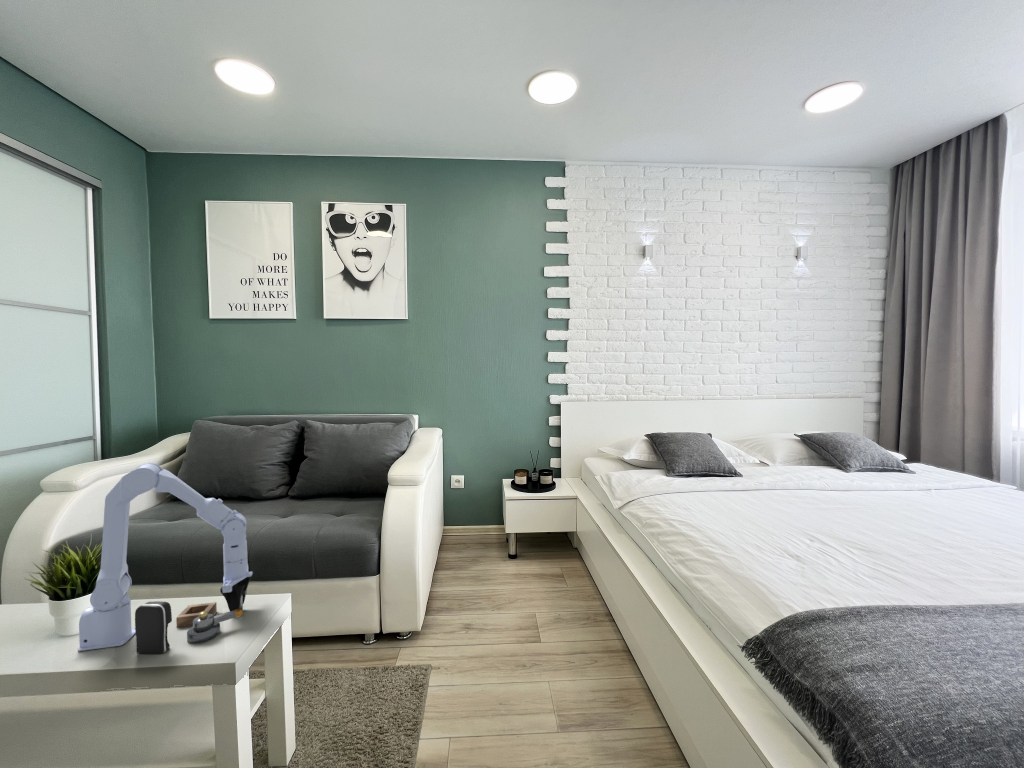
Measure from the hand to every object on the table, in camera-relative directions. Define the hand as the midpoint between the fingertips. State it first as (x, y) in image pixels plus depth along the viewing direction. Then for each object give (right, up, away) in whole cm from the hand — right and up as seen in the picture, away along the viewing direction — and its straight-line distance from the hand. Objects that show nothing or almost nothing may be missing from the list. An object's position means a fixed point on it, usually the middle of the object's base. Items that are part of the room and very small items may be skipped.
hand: (237, 607), depth 131 cm
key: (0, -1, 0) cm, 1 cm away
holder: (-9, -2, -3) cm, 10 cm away
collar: (+1, +1, -10) cm, 10 cm away
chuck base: (-1, -2, -12) cm, 12 cm away
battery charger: (-9, -2, -18) cm, 20 cm away
